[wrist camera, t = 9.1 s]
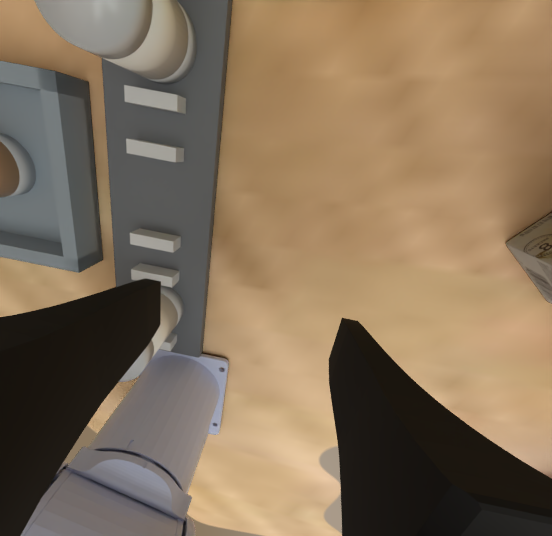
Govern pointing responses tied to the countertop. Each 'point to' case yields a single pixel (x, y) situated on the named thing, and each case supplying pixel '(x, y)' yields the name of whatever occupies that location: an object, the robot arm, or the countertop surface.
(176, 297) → the cylinder
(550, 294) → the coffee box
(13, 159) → the marked fuse
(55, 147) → the tray
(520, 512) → the robot arm
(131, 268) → the board
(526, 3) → the countertop surface
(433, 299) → the countertop surface
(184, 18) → the ball
